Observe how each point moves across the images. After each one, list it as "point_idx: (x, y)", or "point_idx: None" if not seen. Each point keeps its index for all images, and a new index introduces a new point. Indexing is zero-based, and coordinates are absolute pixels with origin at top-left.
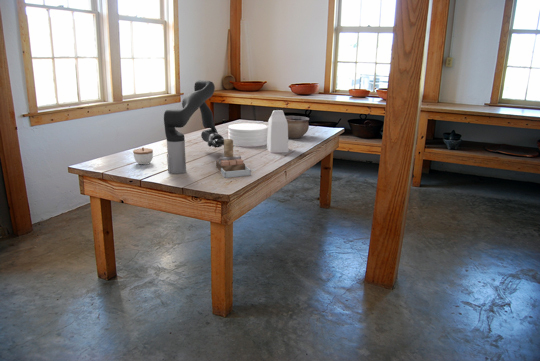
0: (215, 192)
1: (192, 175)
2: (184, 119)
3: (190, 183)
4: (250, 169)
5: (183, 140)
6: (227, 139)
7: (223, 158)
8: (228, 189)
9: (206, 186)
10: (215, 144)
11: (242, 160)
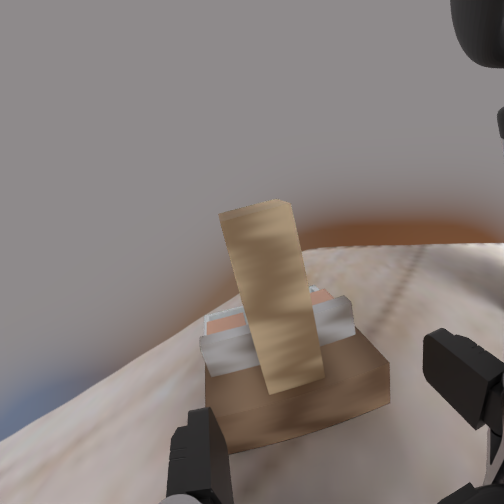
0: (334, 249)
1: (457, 296)
2: (456, 29)
3: (420, 259)
4: (204, 316)
5: (501, 137)
6: (257, 209)
7: (321, 305)
8: (304, 261)
9: (365, 259)
10: (436, 332)
11: (211, 321)
